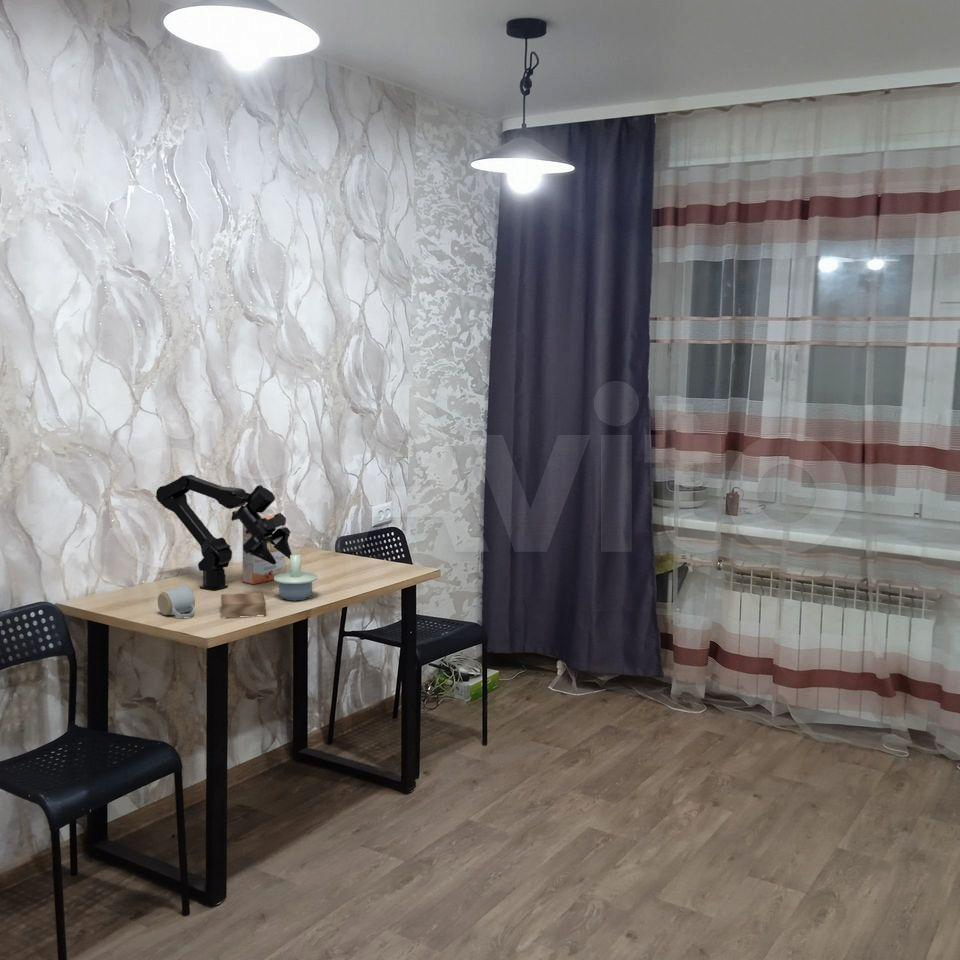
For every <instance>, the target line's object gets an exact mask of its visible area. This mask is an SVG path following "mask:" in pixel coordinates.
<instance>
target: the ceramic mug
mask: <svg viewBox="0 0 960 960" xmlns="http://www.w3.org/2000/svg"><path fill="white" fill-rule="evenodd" d="M195 599H196V598H195V594H194V592H193V590H192V589H191V588H190V587H189V586H187V585H181V586H178V587H175V588H171V589H168V590H165V591H162V592H160V593H159V594H158V597H157V607H158V609H159V611H160V613H161V614H162V615H164V616H166V615H172V616H175V617H176V618H179V617H180V618H179V619H183V618H184V617H190V618H192V617H193V616H194V615H195V606H196V600H195ZM186 612H187V613H186ZM181 613H182V614H181ZM191 616H192V617H191Z"/></svg>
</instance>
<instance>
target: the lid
mask: <svg viewBox="0 0 960 960" xmlns="http://www.w3.org/2000/svg"><path fill="white" fill-rule="evenodd" d="M289 560H290V561H289V564H290V565H289V568H290V569H289V572H288V571H287V572H285V573H281V574H278V575H275V576H274V580H273V581H274V582H276V583H278V584H279V583H284V584H303V583H309V582H312V583H313V582H315V581H317V580H318V575H317V574H316V573H313V572H305V571H302V555H301V554H299V553H292V554H291V555H290V559H289Z"/></svg>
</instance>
